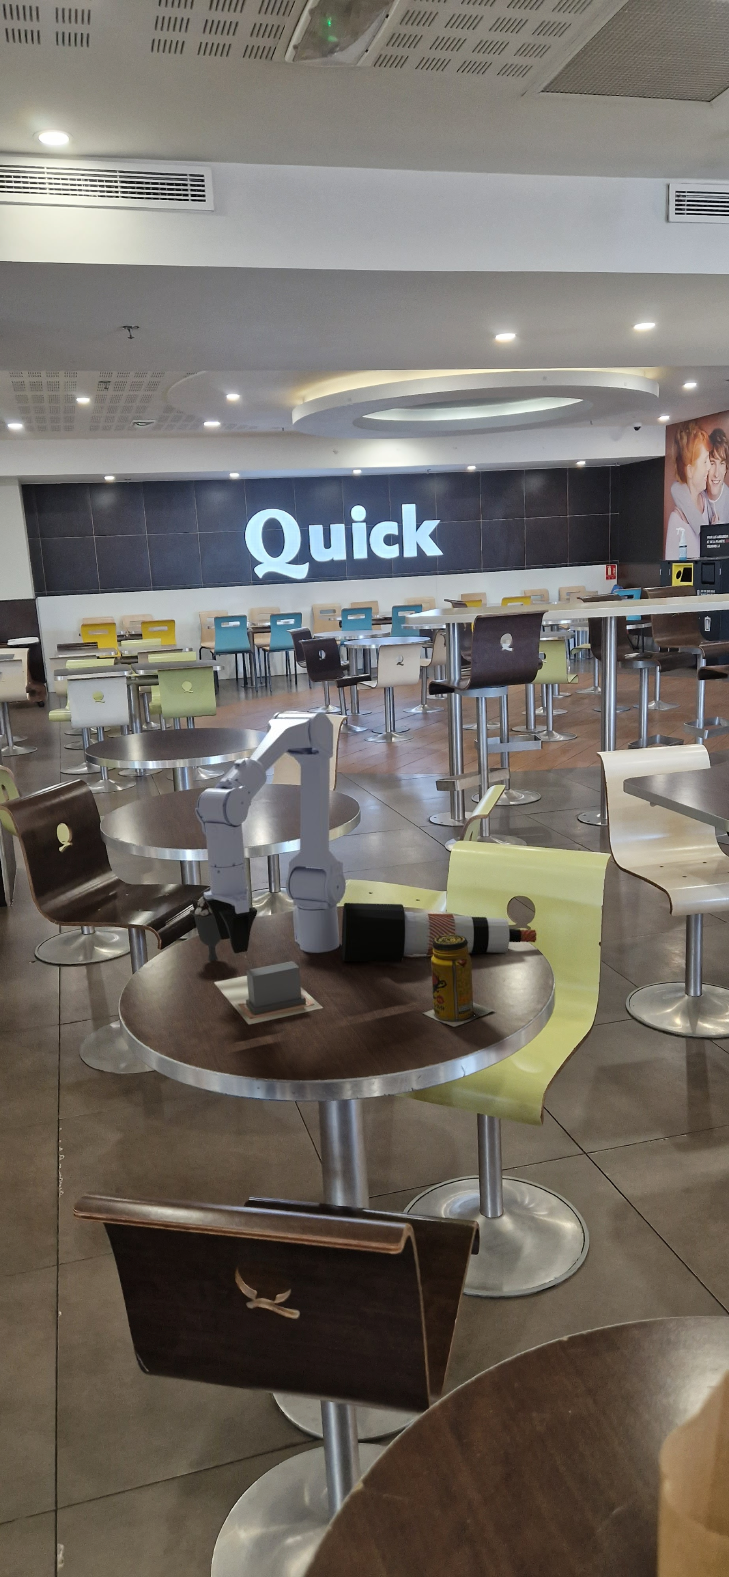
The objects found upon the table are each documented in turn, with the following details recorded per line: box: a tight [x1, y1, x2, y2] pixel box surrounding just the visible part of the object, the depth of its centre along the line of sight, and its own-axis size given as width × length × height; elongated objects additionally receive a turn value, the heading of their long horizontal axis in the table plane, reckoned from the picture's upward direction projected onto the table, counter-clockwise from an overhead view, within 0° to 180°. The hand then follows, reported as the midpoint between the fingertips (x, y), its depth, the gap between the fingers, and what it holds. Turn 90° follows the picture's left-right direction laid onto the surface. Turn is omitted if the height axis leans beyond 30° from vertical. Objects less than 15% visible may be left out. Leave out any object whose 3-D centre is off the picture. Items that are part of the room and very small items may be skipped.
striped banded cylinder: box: [341, 902, 537, 963], centre depth 178 cm, size 10×34×10 cm, turn 92°
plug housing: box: [246, 960, 302, 1007], centre depth 158 cm, size 3×8×5 cm, turn 114°
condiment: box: [422, 935, 495, 1027], centre depth 153 cm, size 7×8×12 cm
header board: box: [213, 975, 324, 1025], centre depth 163 cm, size 20×12×5 cm, turn 24°
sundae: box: [189, 895, 222, 962], centre depth 180 cm, size 7×7×15 cm
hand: (233, 944), depth 162 cm, fingers open, 7 cm apart
